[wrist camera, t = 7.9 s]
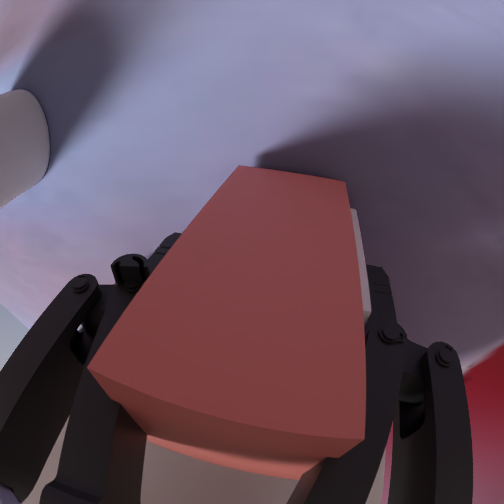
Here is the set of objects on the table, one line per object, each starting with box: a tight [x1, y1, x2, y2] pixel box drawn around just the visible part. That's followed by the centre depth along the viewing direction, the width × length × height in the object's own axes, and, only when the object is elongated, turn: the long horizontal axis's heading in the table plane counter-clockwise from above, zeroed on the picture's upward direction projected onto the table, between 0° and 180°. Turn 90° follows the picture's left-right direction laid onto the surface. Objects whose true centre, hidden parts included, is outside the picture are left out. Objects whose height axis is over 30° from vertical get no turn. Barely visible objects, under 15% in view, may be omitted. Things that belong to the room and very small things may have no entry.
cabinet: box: [22, 282, 385, 504], centre depth 14 cm, size 10×19×20 cm, turn 87°
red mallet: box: [87, 166, 366, 480], centre depth 15 cm, size 22×5×11 cm, turn 177°
